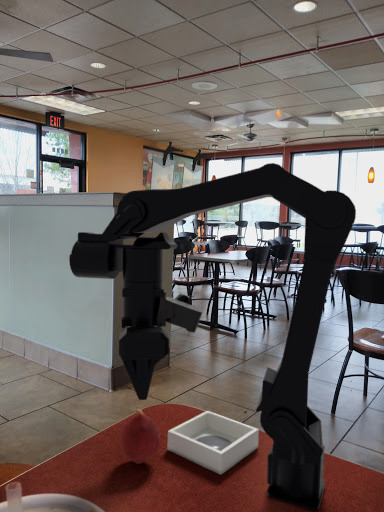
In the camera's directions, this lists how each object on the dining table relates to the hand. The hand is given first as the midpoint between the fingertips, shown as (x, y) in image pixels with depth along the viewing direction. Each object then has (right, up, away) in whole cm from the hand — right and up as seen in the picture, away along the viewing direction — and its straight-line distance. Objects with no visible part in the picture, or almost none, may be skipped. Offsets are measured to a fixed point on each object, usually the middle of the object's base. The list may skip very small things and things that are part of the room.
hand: (141, 387), depth 61 cm
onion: (0, -11, 0) cm, 11 cm away
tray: (+11, -11, +5) cm, 16 cm away
